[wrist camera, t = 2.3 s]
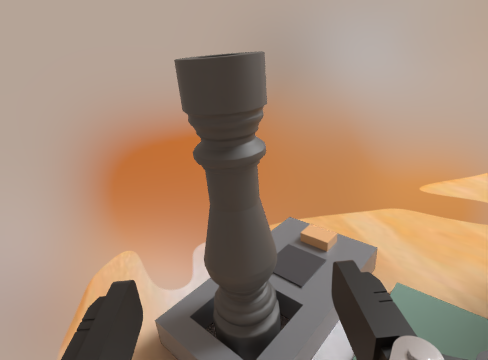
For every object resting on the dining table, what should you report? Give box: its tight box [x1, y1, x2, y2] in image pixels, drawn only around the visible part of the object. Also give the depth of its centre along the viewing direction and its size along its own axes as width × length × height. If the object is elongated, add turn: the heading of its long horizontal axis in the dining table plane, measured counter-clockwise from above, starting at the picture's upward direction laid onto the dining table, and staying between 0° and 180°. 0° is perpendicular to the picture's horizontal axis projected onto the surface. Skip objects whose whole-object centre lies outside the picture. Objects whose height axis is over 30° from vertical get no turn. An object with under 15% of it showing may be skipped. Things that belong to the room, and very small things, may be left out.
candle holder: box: [175, 52, 281, 360], centre depth 24 cm, size 6×6×25 cm
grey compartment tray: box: [155, 217, 377, 360], centre depth 32 cm, size 22×12×4 cm, turn 138°
